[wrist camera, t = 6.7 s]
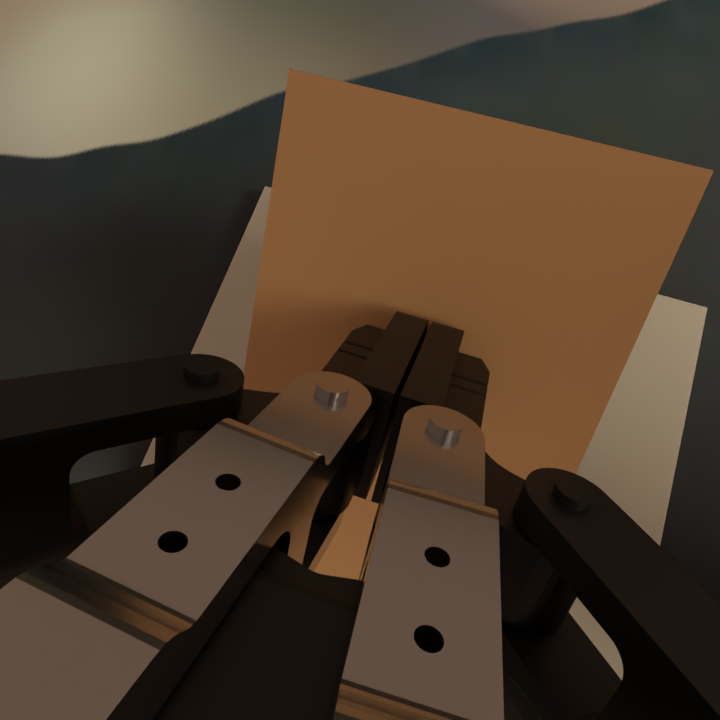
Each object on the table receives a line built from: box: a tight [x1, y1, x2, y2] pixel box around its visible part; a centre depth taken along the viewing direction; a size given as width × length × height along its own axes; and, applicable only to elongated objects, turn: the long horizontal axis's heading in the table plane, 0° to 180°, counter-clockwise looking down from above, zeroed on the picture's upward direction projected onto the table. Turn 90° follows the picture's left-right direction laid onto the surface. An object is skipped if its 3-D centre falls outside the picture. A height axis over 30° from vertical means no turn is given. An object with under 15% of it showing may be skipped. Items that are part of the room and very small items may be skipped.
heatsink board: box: [141, 186, 707, 680], centre depth 21 cm, size 20×17×8 cm
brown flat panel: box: [243, 69, 713, 580], centre depth 14 cm, size 8×1×13 cm
